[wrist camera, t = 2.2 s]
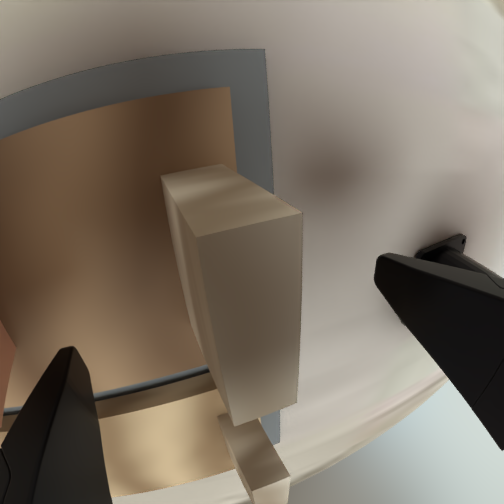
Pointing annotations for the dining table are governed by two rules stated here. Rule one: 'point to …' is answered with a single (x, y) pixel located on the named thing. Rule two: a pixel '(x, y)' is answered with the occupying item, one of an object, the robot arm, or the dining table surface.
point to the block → (5, 365)
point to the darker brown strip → (149, 253)
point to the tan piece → (182, 442)
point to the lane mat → (153, 84)
